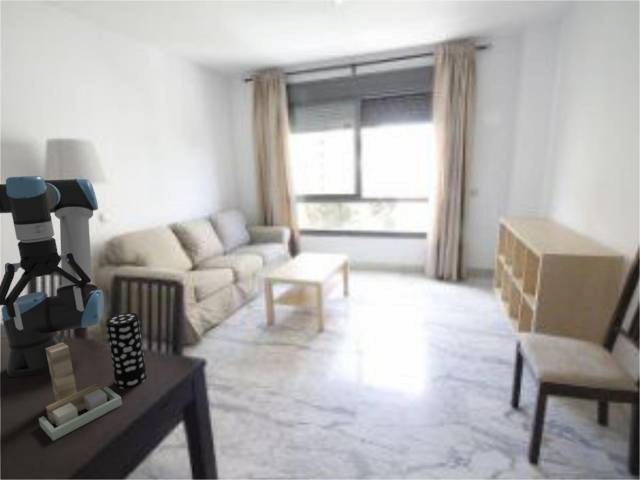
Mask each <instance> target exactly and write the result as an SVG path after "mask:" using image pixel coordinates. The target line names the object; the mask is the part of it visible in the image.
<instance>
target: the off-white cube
mask: <svg viewBox="0 0 640 480" xmlns="http://www.w3.org/2000/svg"><path fill="white" fill-rule="evenodd" d="M52 412H53V417H54V422H55V424H54V425H56V428H57V427H59V426H61V425H63V424H65V423H66V422H68V421H70V420H72V419H74V418H76V417H78V416H79V412H77V408H76V407H75V406H74V405H73V404H71V403H68V404H66V405H64V406H62V407H60V408H58V409H56V410H53V411H52Z"/></svg>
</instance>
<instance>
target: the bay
mask: <svg viewBox="0 0 640 480" xmlns="http://www.w3.org/2000/svg"><path fill="white" fill-rule="evenodd" d="M102 391H103V392H104V393H106V395H107V401H108V400H109V401H108V402H106V403H104V404H102V405H100V406H98V407H96V408H94V409H92V410H90V411H88V410H87V412H84V413H83V414H80V415H78V417H76V418H74V419H72V420H70V421H68V422H66V423H65V424H63V425H61V426H59V427H57V426H56V427H54V426H53V425H52V424H51V422H50V421H49V420H48V419H47V418H46V417H45V416H44V415H43V416H41V417H38V422H39V427H40V428H41V429H42V430H43V431H44V432H45V433H46V435H47V436H48V437H49V438H50V439H51V440H52V442H54V441H56V440H57V439H60V438H62V437H63V436H66V435H68V434H69V433H71V432H73V431H75V430H77V429H78V428H80V427H82V426H84V425H86V424H88V423H90V422H92V421H94V420H96V419H97V418H99V417H101V416H103V415H105V414H107V413H109V412H111V411H113V410H114V409H116V408H119V407H121V406H122V405H123V401H122V397H121V396H120V395H119V394H117V393H116V392H115V391H113V390H112V389H111V388H109V387H108V386H107V385H106V386H104V387H102Z"/></svg>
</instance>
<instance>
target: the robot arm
mask: <svg viewBox="0 0 640 480" xmlns="http://www.w3.org/2000/svg"><path fill="white" fill-rule="evenodd" d="M98 210H99V205H98V200H97V196H96V192H95V189H94V187H93V183H92V182H91V181H90V180H89V179H87V178H72V179H44V177H43V176H39V175H29V176H28V175H25V176H24V175H23V176H9V177H7V178H6V180H5V183H3V184H2V183H1V184H0V214H11V216H12V222H13V227H14V228H13V229H14V233H15V237H16V240H17V241H18V243H17V247H18V252H19V256H20V261H19V262H17V263H16V262H15V263H10V262H6V263H5V264H4V275H3V277H2V281H1V282H0V306H2V308H1V315H2V319H1V320H2V322H3V326H4V330H5V335H6V340H7V343H8V348H9V351H8V354H7V356H8V357H7V359H6V360H7V361H6V366H5V367H6V373H7V376H9V377H11V378H25V377H26V378H27V377H33V376H36V375H39V374H43V373H45V372H48V371H50V369H49V364H48V359H47V354H46V349H45V348H48V347H51V346H54V345H57V344H59V343H60V342H59V341H58V340H57V338H56V337H55V333H57V332H58V333H59V332H63V331H69V330H75V329H81V328H83V329H85V328H87V327H91V326H96V325H98V324H99V323H100V322H101V321H102V319H103V314H104V307H105V304H104V303H105V301H104V295H105V294H104V291H103V290H101V289H98V285H97V284H96V283H94V282H93V273H92V259H91V258H92V257H91V239H90V238H91V237H90V235H91V234H90V219H91V218H92V217H93V216H94V212H95V211H98ZM53 213H54V217H56V218H57V219H58V220H59V229H60V230H59V232H60V234H59V235H60V236H59V237H60V239H59V240H60V254H59V252H58V246H57V242H56V241H57V240H56V239H55V238H54V236H55V231H54V226H53V220H52V216H51V214H53ZM60 263H61V264H60ZM59 265H61V267H60V266H59ZM19 269H22V270H23V272H22V274H21V276H20V278H19V279H18V281H17V282H16V284H15V285H14V286H13V288H12V289H11V290H10V287H11V285H12V282H13V280H14V277H15V273H17V272H18V271H19ZM54 272H55V273H56V274H59V275H60V276H61V285H59V286H58V287H57V288H56V290H55V291H56V295H53V296H48V294H47V292H45V291H37V292H31V293H28V294H24V295H21V294H22V292H23V291H24V289H25V288H26V286H28V284H29V283H30V281H32V280H33V278H34V277H37V278H40V277H43V276H44V275H45V276H46V275H52V274H53V273H54ZM9 290H10V292H9ZM8 293H9V294H8Z"/></svg>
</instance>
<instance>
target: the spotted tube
mask: <svg viewBox="0 0 640 480" xmlns="http://www.w3.org/2000/svg"><path fill="white" fill-rule="evenodd" d="M105 324H106V325H105V326H106V332H107V337H108V344H109V352H110V357H111V363H112V369H113V375H114V376H113V377H114V381H115V386H116V387H117V388H118V389H131V388H134V387H136V386H137V387H138V386H139V385H141V384H142V383H144V382H145V381H146V379H147V375H148V374H147V368H146V362H145V356H144V355H145V353H144V348H143V347H144V346H143V340H142V332H141V327H140V319H139V314H137V313H135V312H124V313H119V314H115V315H113V316H111V317H109V318H108V319H106V321H105Z"/></svg>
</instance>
